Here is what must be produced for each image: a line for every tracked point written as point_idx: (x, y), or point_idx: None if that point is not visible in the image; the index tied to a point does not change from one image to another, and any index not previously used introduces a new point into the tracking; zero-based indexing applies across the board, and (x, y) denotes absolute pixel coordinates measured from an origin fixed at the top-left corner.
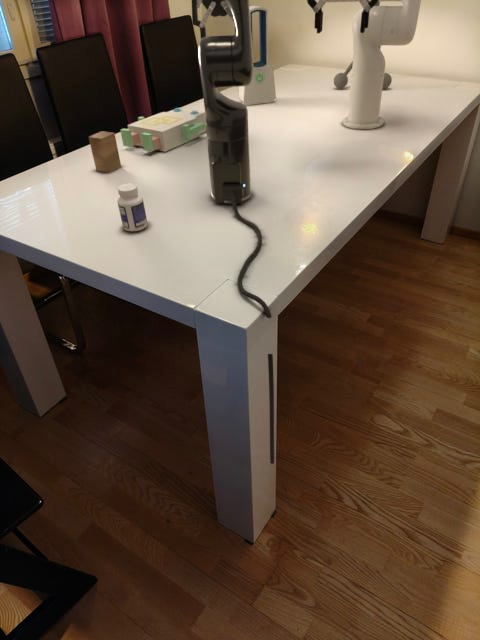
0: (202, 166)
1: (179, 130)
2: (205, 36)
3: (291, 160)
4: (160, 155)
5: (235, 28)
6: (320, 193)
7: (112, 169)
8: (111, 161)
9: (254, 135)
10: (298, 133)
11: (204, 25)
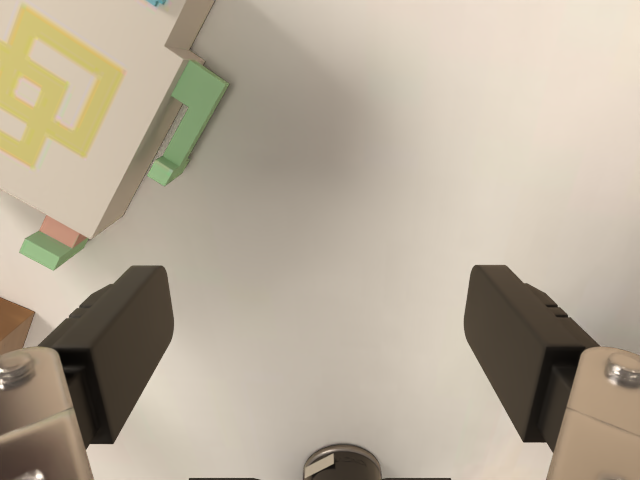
0: (261, 329)
1: (137, 161)
2: (148, 375)
3: None
4: (116, 238)
5: (521, 425)
6: (514, 471)
7: (23, 339)
8: (9, 350)
9: (421, 69)
10: (591, 67)
11: (79, 425)
